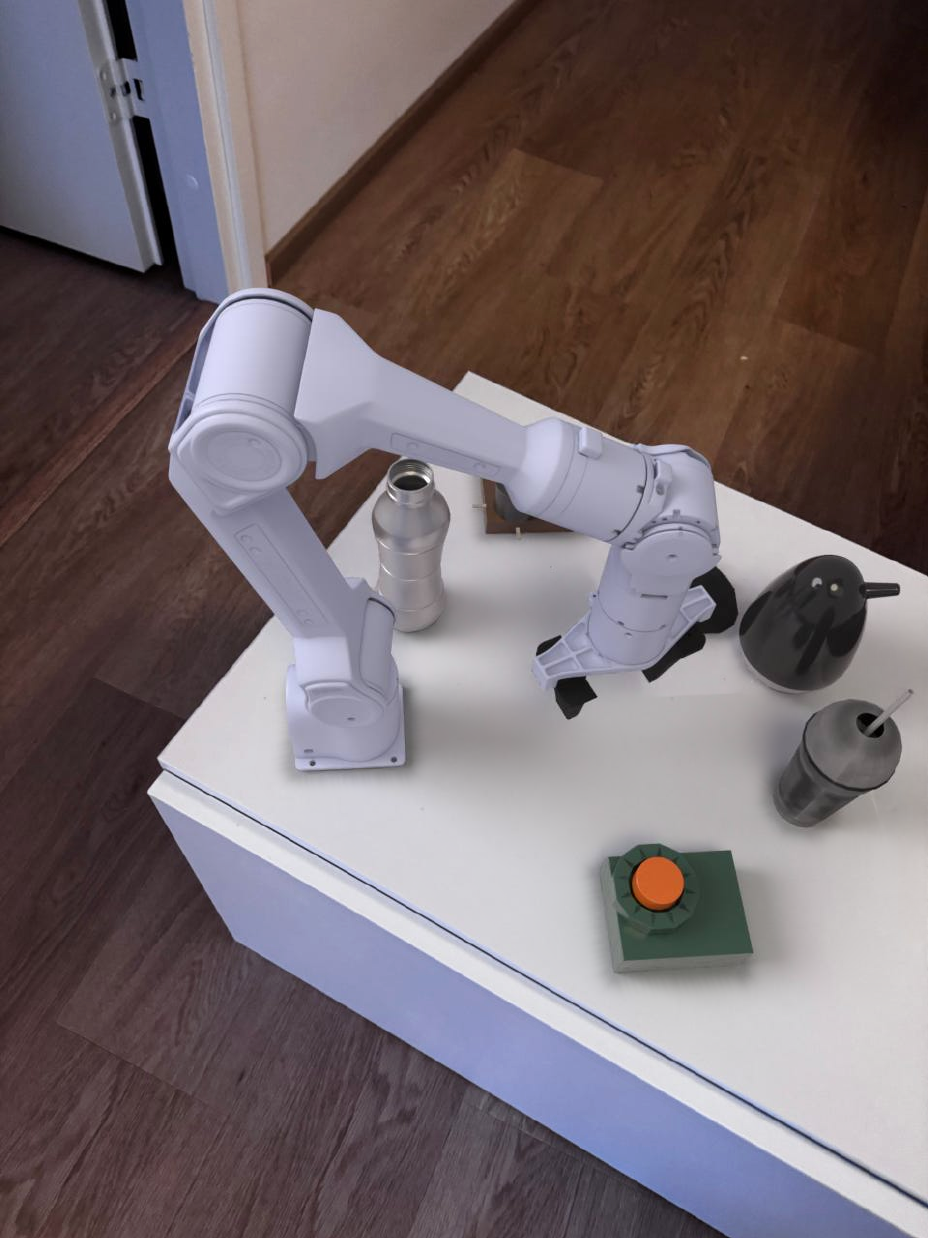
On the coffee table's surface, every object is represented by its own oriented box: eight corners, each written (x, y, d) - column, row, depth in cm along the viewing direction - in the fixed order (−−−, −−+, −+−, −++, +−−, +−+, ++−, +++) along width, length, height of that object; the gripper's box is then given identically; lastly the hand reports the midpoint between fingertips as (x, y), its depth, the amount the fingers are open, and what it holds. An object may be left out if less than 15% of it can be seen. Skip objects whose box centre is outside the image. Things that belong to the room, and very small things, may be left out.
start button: (635, 911, 73) (640, 905, 72) (628, 865, 75) (632, 857, 74) (682, 909, 73) (688, 902, 72) (674, 862, 75) (679, 855, 74)
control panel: (474, 552, 97) (475, 540, 95) (465, 459, 103) (466, 445, 102) (586, 549, 98) (589, 536, 96) (570, 457, 104) (573, 443, 102)
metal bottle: (367, 592, 94) (357, 453, 77) (434, 577, 95) (439, 436, 78) (384, 647, 91) (378, 515, 74) (453, 631, 92) (463, 497, 75)
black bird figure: (838, 719, 89) (910, 633, 76) (724, 697, 90) (777, 608, 77) (837, 627, 94) (904, 532, 81) (730, 606, 95) (780, 509, 82)
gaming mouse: (652, 516, 100) (660, 491, 97) (748, 619, 94) (761, 597, 91) (604, 542, 98) (611, 518, 95) (699, 649, 92) (710, 627, 89)
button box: (610, 973, 76) (624, 955, 71) (595, 870, 80) (608, 846, 75) (738, 965, 77) (761, 947, 72) (716, 863, 81) (736, 839, 76)
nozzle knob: (537, 523, 97) (541, 498, 93) (493, 521, 97) (496, 496, 93) (536, 489, 99) (540, 463, 96) (493, 487, 99) (495, 461, 96)
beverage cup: (742, 778, 85) (824, 668, 68) (813, 753, 87) (910, 638, 70) (784, 854, 82) (882, 758, 65) (857, 826, 83) (971, 725, 66)
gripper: (693, 519, 70) (654, 618, 82) (518, 591, 66) (503, 685, 78) (750, 592, 67) (701, 685, 79) (571, 672, 63) (546, 757, 75)
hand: (606, 689), depth 78 cm, fingers open, 7 cm apart
